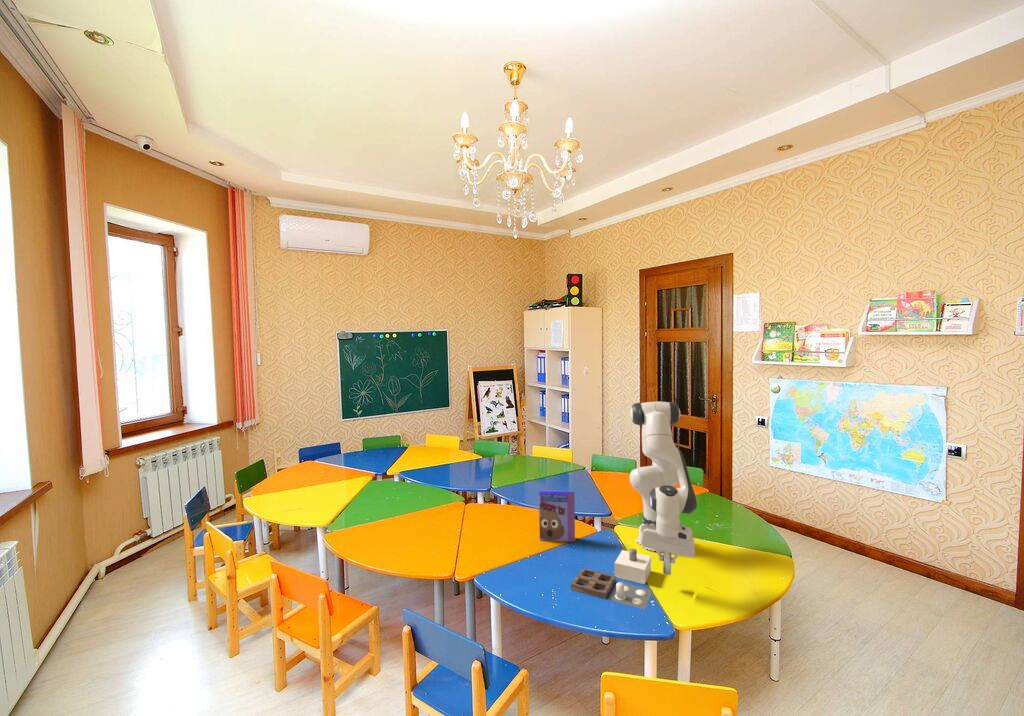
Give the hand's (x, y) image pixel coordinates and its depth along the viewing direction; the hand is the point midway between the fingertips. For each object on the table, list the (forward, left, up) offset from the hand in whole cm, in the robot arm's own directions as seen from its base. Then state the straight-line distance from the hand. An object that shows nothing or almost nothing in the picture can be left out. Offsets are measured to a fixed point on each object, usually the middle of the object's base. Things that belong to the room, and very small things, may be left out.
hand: (667, 561), depth 176 cm
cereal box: (-21, -57, -12) cm, 62 cm away
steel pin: (0, 0, -5) cm, 5 cm away
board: (+12, -12, -12) cm, 20 cm away
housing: (-5, -15, -12) cm, 19 cm away
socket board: (+12, -27, -12) cm, 31 cm away
